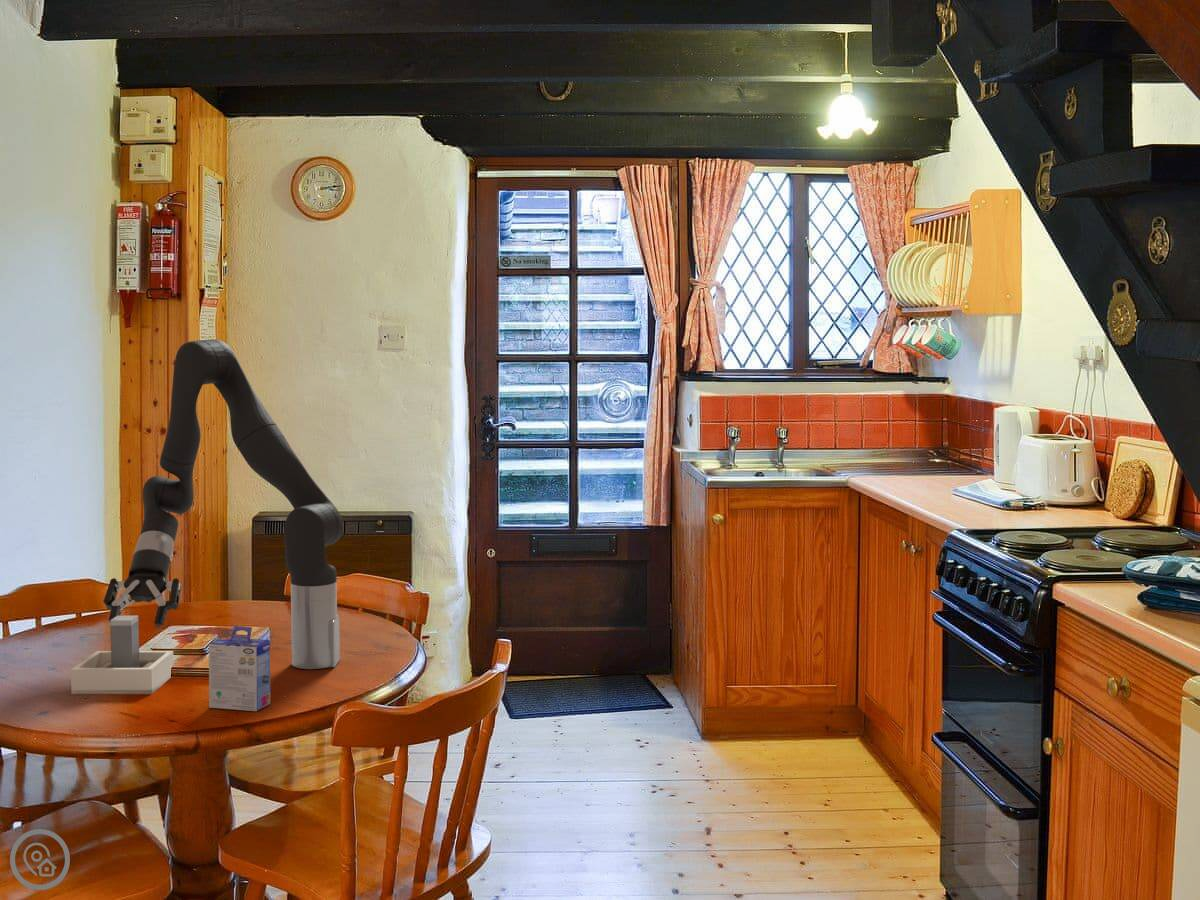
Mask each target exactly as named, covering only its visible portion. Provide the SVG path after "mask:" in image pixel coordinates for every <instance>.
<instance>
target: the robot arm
mask: <svg viewBox="0 0 1200 900" xmlns="http://www.w3.org/2000/svg"><path fill="white" fill-rule="evenodd" d="M210 384H213V386H214V387H215V388H216V389H217V391H218V392H219V393H220V395H221V396H222V398H223V399H224V401H225V403H226V405H227V408H228V410H229V421H230V432H231V437H232V441H233V443H234V444H235V447H236V448H237V450H238V451H239V453H240V454H241V455H242V457H243V459H244V461H245V462H246V463H247V465H248V466H249V467H250V469H252V470H253V472H254V473H256V474H257V475H258V476H259V477H260V478H262V479H263V480H264V481H266V482H267V483H269V484H270V485H271V486H272V487H274V488H275V489H276V490H278V491H279V492H280V493H281V494H282V495H283V496H284V497H285V498H286V500H288V502H289V503H290V504H291V506H292V508H293V509H292V511H290V512H289V513H288V515H287V517H286V520H285V523H284V530H283V531H284V535H283V536H284V550H285V554H284V555H285V563H286V564H285V565H286V569H287V571H288V573H289V576H290V615H291V616H290V618H291V619H290V620H291V621H290V622H291V629H290V630H291V632H290V633H291V665H292V666H293V667H294V668H297V669H302V670H318V669H319V670H320V669H326V668H335V667H336V666H337V664H338V663H339V661H340V660H341V656H340V654H341V652H340V651H341V649H340V648H341V647H340V641H341V640H340V637H341V636H340V615H339V614H338V599H337V597H338V594H337V593H338V589H337V588H338V581H337V568H336V567H335V566H334V565H332V564H329V563H328V562H327V556H326V547H328V546H331V545H334V544H335V543H336V542H339V540H340V539H341V537H342V536H343V533H344V522H343V518H342V516H341V513H340V512H339V510H338V509H337V507H336V506H335V504H334V503H333V502H332V501H331V500H330V499H329V498H328V496H327V495H326V494H325V492H324V491H323V490H322V488H321V487H320V486H319V485H318V484H317V483H316V482H315V480H314V479H313V478H312V476H311V475H310V474H309V472H308V470H307V469H306V467H305V466H304V464H303V463H302V461H301V460H300V459H299V456H298V455H297V454H296V452H294V450H293V448H292V447H291V445H290V444H289V442H288V440H287V438H286V437H285V435H284V434H283V433H282V431H281V429H280V428H279V426H278V425H277V424H276V422H275V421H274V419H273V418H272V416H271V415H270V414H269V413H268V411H267V409H266V407H265V406H264V404H263V403H262V401H261V400H260V398H259V396H258V395H257V393H256V391H255V390H254V388H253V387H252V385H251V383H250V381H249V379H248V378H247V376H246V374H245V372H244V370H243V368H242V366H241V364H240V362H239V360H238V358H237V356H236V354H235V353H234V351H233V349H232V348H231V347H230V346H229V345H228V344H227V343H226V342H224V341H222V340H220V339H215V338H213V339H202V340H191V341H187V342H185V343H183V344H182V345H181V346H180V347H179V348H178V350H177V352H176V355H175V359H174V365H173V377H172V387H171V400H170V413H169V420H168V426H167V432H166V435H165V439H164V443H163V447H162V449H161V454H160V458H159V465H160V467H161V469H162V470H163V471H165V472H167V473H168V474H171V475H173V476H175V477H176V478H178V480H177V479H173V478H170V477H169V478H168V477H165V476H164V477H163V476H158V475H155V476H151V477H149V478H148V479H147V480H146V481H145V482H144V484H143V488H142V503H143V522H142V526H141V530H140V534H139V537H138V540H137V542H136V545H135V548H134V552H133V556H132V560H131V564H130V565H129V566H130V567H129V571H128V576H127V578H126V579H125V580H124V581H122V580H118V579H116V578H111V579H110V580H109V584H108V587H107V590H106V592H105V595H104V599H103V604H104V606H105V608H106V609H107V610H110V612H109V617H108V621H109V623H110V620H112V619H113V618H115V617H116V616H122V615H121V614H122V610H123V609H124V608H126V607H127V606H128V607H129V606H130V605H131V604H133V602H135V603H142V602H146V603H152V601H155V602H156V603H157V605H158V606H157V609H156V612H155V613H156V614H155V617H154V625H155V628H162V626H163V625H164V624H165V623H166V622H165V621H166V617H167V614H168V612H169V611H170V610H174V611H175V610H177V609H178V608H179V603H180V598H181V591H182V584H181V582H180V580H179V578H174V579H172V580H169V581H168V576H169V571H170V567H171V564H172V561H173V558H174V549H175V542H176V536H177V533H178V529H179V521H178V519H177V518H176V516H174V515H173V514H171V513H174V514H178V515H183V514H186V513H188V511H190V509H191V508H192V507H193V504H194V501H195V500H194V498H195V496H194V495H195V494H194V493H195V491H194V469H195V468H194V467H195V462H196V459H197V455H198V451H199V449H200V444H201V428H200V423H199V419H198V414H197V401H198V398H199V394H200V393H201V389H202V388H203V385H210ZM122 589H124V590H123V591H122ZM167 589H168V590H169V592H170V594H169V600H166V601H165V599H164V597H163V596H162V594H163V593H164V592H165V591H166V590H167ZM121 591H122V592H121ZM118 593H120V594H119V595H118ZM117 596H118V597H117Z"/></svg>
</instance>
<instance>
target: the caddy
mask: <svg viewBox="0 0 1200 900" xmlns="http://www.w3.org/2000/svg"><path fill="white" fill-rule="evenodd" d="M174 661H175V659H174V650H139V662H140V668H112V666H111V650H96V651H95V652H94V653H92V654H91V655H89V656H88V657H86V658H85V659H84V660H82V661H81V662H79V663H78V664H77V665H75V666H73V667H72V668H71V669H70V683H71V684H70V685H71V695H154V694H155V692H156V691H157V690H158V689H160V688H161V687H162V686H163V685H165V683H166V682H167V681H169V680H170V679H171V678H172V677H171V668H172V666H173V665H175V664H174Z"/></svg>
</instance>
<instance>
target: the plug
mask: <svg viewBox="0 0 1200 900" xmlns="http://www.w3.org/2000/svg"><path fill="white" fill-rule="evenodd" d="M109 627H110V628H109V629H110V631H109V633H110V635H109V636H110V651H111V666H112V668H140V662H139V651H140V639H139V638H140V634H139V629H140V628H139V615H120V616H116V617H115V618H113V619H112V620H110V622H109Z"/></svg>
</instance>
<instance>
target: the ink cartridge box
mask: <svg viewBox="0 0 1200 900" xmlns="http://www.w3.org/2000/svg"><path fill="white" fill-rule="evenodd" d="M252 629H253V627H249V626H238V625H235V626H234V627H233V630H232V633H231V637H221V638H218V639H216V640H214V641H212V642H210V643H209V644H208V686H209V688H208V692H209V693H208V694H209V695H208V698H209V699H208V700H209V701H208V702H209V704H208V708H210V709H221V710H222V709H223V710H232V711H233V710H235V711H246V712H247V711H248V712H259V710H261V709H264V708H265V707H267V706H270V705H271V698H272V697H271V650H270V649H271V640H270V639H260V638H259V639H258V638H257V639H256V638H251V634H252ZM239 631H243V632H246V633H247V634H237V632H239Z"/></svg>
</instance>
